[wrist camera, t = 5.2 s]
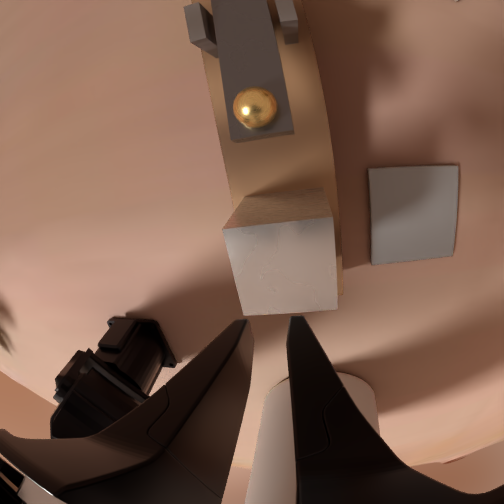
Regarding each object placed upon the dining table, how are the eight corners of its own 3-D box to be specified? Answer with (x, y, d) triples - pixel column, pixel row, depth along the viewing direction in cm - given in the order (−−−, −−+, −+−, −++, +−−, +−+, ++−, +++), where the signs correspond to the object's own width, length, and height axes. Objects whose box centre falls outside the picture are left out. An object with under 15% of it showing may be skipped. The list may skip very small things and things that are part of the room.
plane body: (338, 271, 21) (349, 336, 15) (260, 278, 22) (243, 342, 16) (295, -3, 12) (291, -56, 6) (206, 14, 14) (162, -25, 8)
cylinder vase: (288, 355, 25) (241, 625, 3) (395, 379, 25) (411, 600, 3) (251, 414, 31) (208, 594, 9) (340, 431, 31) (329, 597, 9)
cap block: (329, 259, 17) (337, 309, 13) (258, 265, 18) (243, 315, 14) (323, 187, 15) (332, 216, 11) (244, 196, 16) (222, 229, 12)
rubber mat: (450, 253, 18) (452, 256, 18) (370, 262, 20) (371, 265, 20) (455, 165, 15) (458, 166, 15) (367, 168, 17) (368, 169, 17)
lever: (294, 134, 11) (291, 123, 9) (237, 143, 11) (220, 135, 9) (252, -52, 8) (242, -77, 6) (209, -42, 9) (195, -65, 6)
